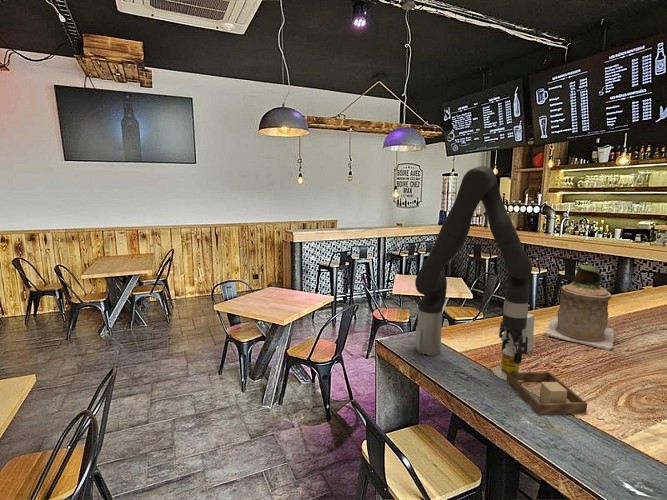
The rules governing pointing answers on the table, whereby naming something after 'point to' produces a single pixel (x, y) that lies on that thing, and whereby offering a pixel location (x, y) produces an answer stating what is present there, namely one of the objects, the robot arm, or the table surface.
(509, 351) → the supplement bottle
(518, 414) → the table surface
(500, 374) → the coaster
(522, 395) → the wooden frame
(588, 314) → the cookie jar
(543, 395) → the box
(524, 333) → the skincare box
